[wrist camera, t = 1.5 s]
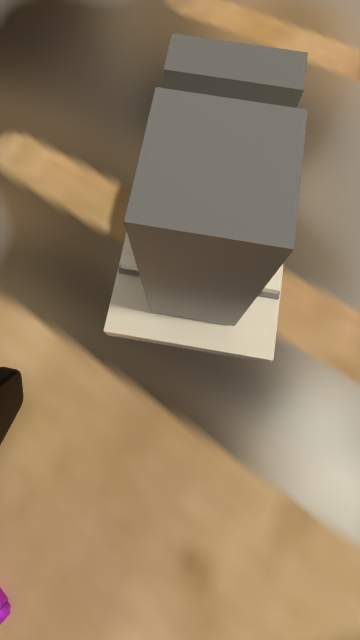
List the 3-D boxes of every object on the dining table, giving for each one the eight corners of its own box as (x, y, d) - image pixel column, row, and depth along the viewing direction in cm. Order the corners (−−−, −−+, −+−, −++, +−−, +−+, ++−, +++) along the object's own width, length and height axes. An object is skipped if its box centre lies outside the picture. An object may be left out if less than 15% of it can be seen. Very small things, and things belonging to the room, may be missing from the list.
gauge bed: (267, 362, 20) (315, 342, 13) (107, 335, 21) (72, 300, 14) (290, 156, 24) (337, 55, 17) (153, 135, 24) (144, 27, 17)
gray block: (270, 332, 19) (367, 261, 10) (114, 305, 19) (53, 210, 10) (279, 253, 20) (372, 119, 11) (132, 229, 21) (93, 77, 11)
